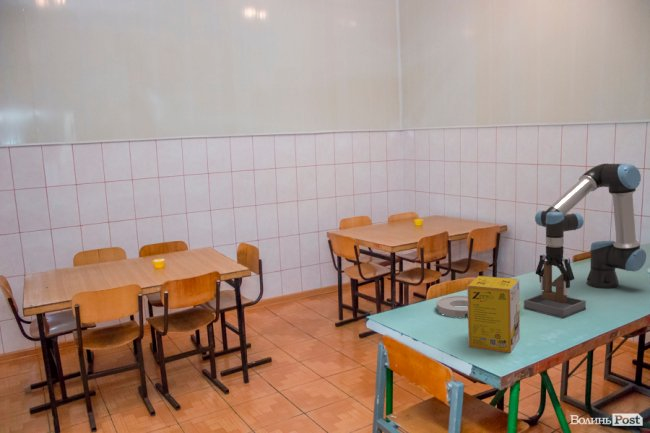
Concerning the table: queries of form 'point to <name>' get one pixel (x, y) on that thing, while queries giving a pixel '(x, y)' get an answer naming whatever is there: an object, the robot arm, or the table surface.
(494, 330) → the packaging box
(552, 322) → the table surface
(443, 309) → the ashtray
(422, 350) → the table surface
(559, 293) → the brown round-handled part
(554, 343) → the table surface
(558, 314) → the tray
